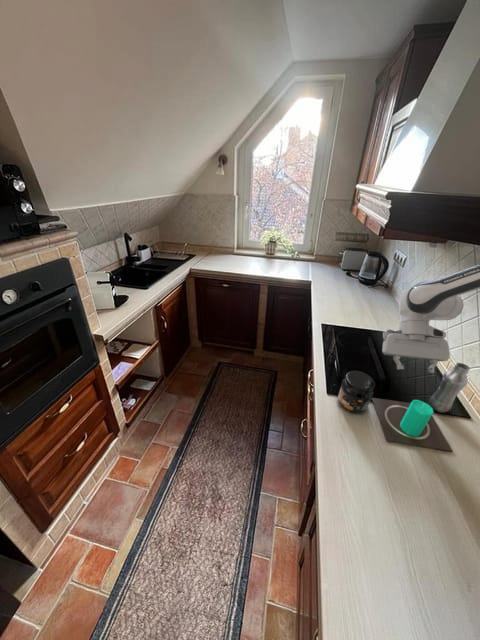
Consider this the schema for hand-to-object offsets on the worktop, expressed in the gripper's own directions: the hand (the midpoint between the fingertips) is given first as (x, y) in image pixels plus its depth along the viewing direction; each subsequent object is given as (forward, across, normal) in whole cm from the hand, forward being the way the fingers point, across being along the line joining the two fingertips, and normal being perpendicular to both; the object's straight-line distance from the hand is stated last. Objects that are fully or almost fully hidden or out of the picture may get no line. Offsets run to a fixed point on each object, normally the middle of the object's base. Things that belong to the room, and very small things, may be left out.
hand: (415, 371), depth 86 cm
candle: (+19, -1, +3) cm, 19 cm away
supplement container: (+14, -18, +9) cm, 24 cm away
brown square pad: (+17, 0, +6) cm, 18 cm away
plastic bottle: (+11, +13, +12) cm, 21 cm away
